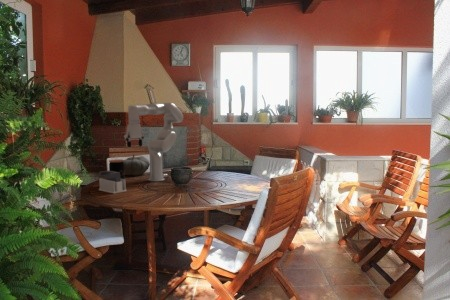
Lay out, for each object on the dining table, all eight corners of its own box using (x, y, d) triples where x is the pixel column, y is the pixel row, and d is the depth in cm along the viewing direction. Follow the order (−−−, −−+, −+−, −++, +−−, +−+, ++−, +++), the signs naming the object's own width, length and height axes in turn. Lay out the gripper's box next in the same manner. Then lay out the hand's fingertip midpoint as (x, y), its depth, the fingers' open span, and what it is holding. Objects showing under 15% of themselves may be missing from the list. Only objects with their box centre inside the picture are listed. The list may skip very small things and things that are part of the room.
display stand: (111, 187, 288) (111, 176, 287) (126, 191, 276) (126, 179, 275) (98, 190, 280) (98, 178, 279) (113, 193, 268) (113, 181, 268)
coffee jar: (120, 186, 294) (119, 161, 292) (107, 185, 296) (106, 161, 294) (127, 183, 305) (126, 159, 303) (114, 183, 307) (113, 159, 305)
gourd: (152, 168, 360) (149, 150, 355) (149, 178, 336) (145, 158, 331) (124, 172, 359) (120, 153, 354) (118, 181, 335) (114, 161, 330)
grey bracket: (108, 179, 283) (108, 170, 282) (120, 181, 274) (120, 172, 273) (99, 180, 278) (99, 171, 277) (110, 182, 268) (110, 173, 268)
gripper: (140, 122, 303) (141, 145, 304) (120, 123, 290) (121, 147, 292) (147, 122, 298) (147, 145, 299) (127, 123, 285) (127, 147, 287)
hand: (134, 146), depth 296 cm, fingers open, 9 cm apart
